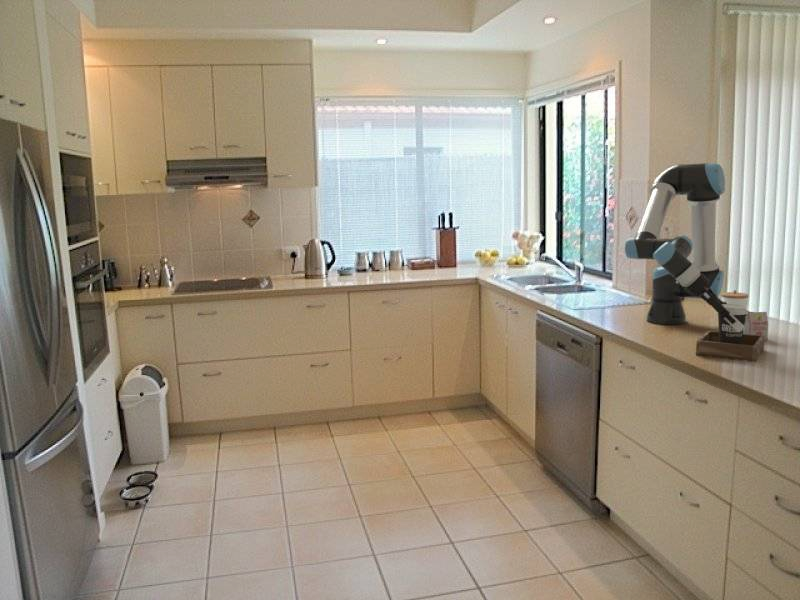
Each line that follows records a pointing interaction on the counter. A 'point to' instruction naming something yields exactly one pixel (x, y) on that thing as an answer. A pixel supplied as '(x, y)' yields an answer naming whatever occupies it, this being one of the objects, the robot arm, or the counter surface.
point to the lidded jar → (735, 298)
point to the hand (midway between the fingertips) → (739, 325)
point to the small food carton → (756, 324)
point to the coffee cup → (726, 330)
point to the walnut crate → (730, 347)
